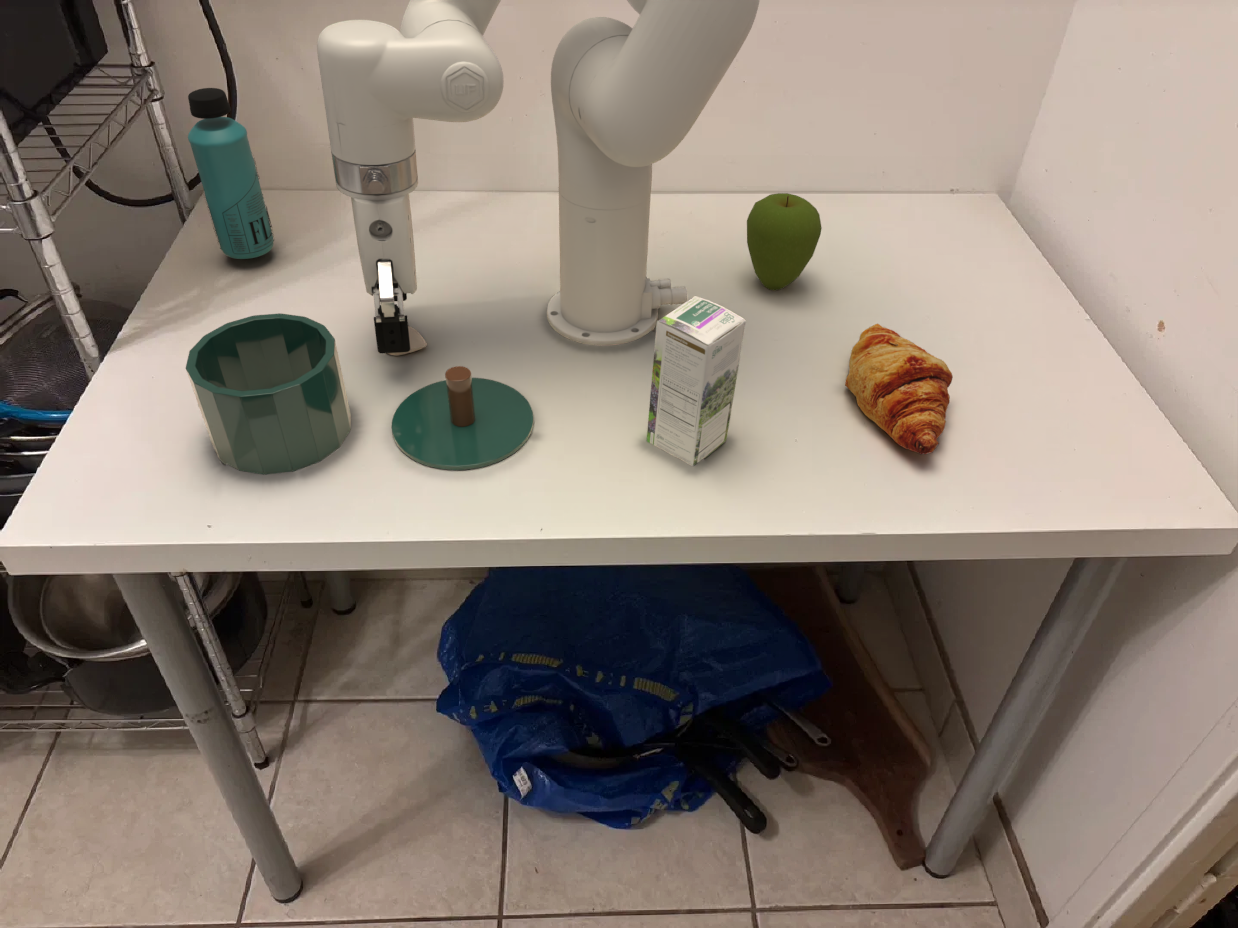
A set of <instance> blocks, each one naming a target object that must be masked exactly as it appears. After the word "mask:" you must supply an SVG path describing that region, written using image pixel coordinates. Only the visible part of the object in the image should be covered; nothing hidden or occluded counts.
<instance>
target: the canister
mask: <svg viewBox="0 0 1238 928" xmlns="http://www.w3.org/2000/svg"><path fill="white" fill-rule="evenodd" d="M341 366H342V365H341V361H340V357H339V352H338V348H337V343H336V339H335V337H334V336H333V335H332V333H331V332H330V331H329V329H328V328H327V327H326V325H324V324H322V323H320V322H318V321H315V320H314V319H311V318H309V317H307V316H304V315H303V316H302V315H295V314H287V313H282V312H281V313H268V314H256V315H250V316H247V317H243V318H240V319H236V320H233V321H229V322H227V323H224V324H222V325H221V326H219V327H217V328H215V329H213V330H212V331H210V332H208V333H206V334H204V335H203V336H202V337H201V338H200V339H199V340H198V341H197V342H196V343H195V345H193V346H192V348H190V350H189V352H188V355H187V360H186V363H185V370H186V373H187V377H188V379H189V382H190V385H191V388H192V391H193V392H194V397H195V400H196V402H197V405H198V408H199V412H200V413H201V417H202V419H203V422H204V425H205V428H206V432H207V434H208V436H209V439H210V442H211V445H212V447H213V449H214V451H215V453H216V456H217V458H218V459H219V461H220V462H221V463H222V464H223V465H224V466H225V467H226V466H227V465H228V466H230V467H232V468H233V469H235V470H237V471H240V472H244V473H250V474H251V473H252V474H257V475H263V476H265V475H274V474H284V473H293V472H296V471H298V470H301V469H304V468H307V467H309V466H313V465H315V464H318V463H319V462H321V461H323V460H324V459H326V458H327V457H329V456H330V455H331V454H333V453H334V452H335V451H336V450H338V449H340V448H341V446H342V445H343V443H344V441H345V440H346V439H347V437H348V435H349V434H350V432H351V429H352V427H351V424H352V423H351V421H352V420H351V419H352V413H351V409H350V404H349V400H348V395H347V391H346V386H345V381H344V375H343V372H342V371H343V370H342V367H341Z"/></svg>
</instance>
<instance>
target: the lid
mask: <svg viewBox="0 0 1238 928" xmlns="http://www.w3.org/2000/svg"><path fill="white" fill-rule="evenodd" d="M444 377H445V379H444V380H439V381H436V382H433V383H430V384H428V385H425V386H423V387H421V388H419V389H417V390H416V391H413V392H412V393H411V394H409V395H408V396H407V397H406V398H405V399H404V400H403V401H402V402H400V404H399V405H398V407H397V408H396V410H395V411H394V414H393V417H392V420H391V433H392V437H393V440H394V443H395V444H396V446H397V448H399V450H400V451H401V452H402V453H403V454H404V455H405V456H407V457H408V458H409V459H411V460H413V461H414V462H416V463H419V464H421V465H424V466H427V467H429V468H433V469H439V470H448V471H464V470H465V471H467V470H475V469H479V468H484V467H488V466H491V465H494V464H497V463H499V462H502V461H503V460H506V459H507V458H508V457H511V456H512V455H514V454H515V453H517V452H518V451H519V450H520V449H521V448H522V447H523V446H524V445H525V444H526V442H527V441H528V440H529V438H530V436H531V434H532V433H533V432H532V431H533V428H534V419H535V418H534V412H533V409H532V406H531V404H530V402H529V401H528V399H527V398H526V397H525V396H524V395H523V394H522V393H521V392H520V391H518V390H516V389H515V388H514V387H512V386H509V385H508V384H505V383H503V382H500V381H497V380H494V379H489V378H484V377H483V378H482V377H472V371H471V370H470V368H468V367H466V366H463V365H456V366H452V367H450V368H448V369H447V370H446V371H445V373H444Z"/></svg>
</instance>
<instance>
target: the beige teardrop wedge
mask: <svg viewBox="0 0 1238 928" xmlns="http://www.w3.org/2000/svg"><path fill="white" fill-rule="evenodd" d="M408 330H409V340H410V351H409V352H400V353H386V354H387V355H390V356H403V355H406V354H412V353H414V352H417V351H420V350H422V349H424V348H426V347H427V346H428V343H427V341H426V340H425V338H424V337H423V335H421V333H420V332H418V330H416V329H415V328H414V327H412V326H410V325H408Z"/></svg>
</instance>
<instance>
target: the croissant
mask: <svg viewBox="0 0 1238 928" xmlns="http://www.w3.org/2000/svg"><path fill="white" fill-rule="evenodd" d="M858 339H859V340H858V341H857V342H856V343H855V344H854V345H853V346H852V350H851V352H850V356H849V361H848V367H849V370H848V374H847V376H846V377H845V378H846V379H845V382H844V386H845V387H846V388H847V389H848V390H849V391H850V392H851V394H853V396H854V397H856V403H857V406H858V407H859V409H860V411H862V413H863V414H864V416H866V417H867V418H868V419H869V420H871V421H872V422H873V423H875V424H876V425H877V426H878V427H879V428H880V429H881V430H883V431H884V432H885V433H886V434H887V435H888V436H889V437H890V438H891V439H892V440H893V441H894V442H895V443H896V444H897V445H898V446H900V447H902V448H904V449H906V450H909V451H912V452H914V453H918V454H919V455H927V454H931V453H933V452H934V451H936V448H937V446H938V445H939V444H940V443H939V441H938V438H939V437H940V436H941V435H942V434H943V433H944V430H945V427H946V423H947V421H946V417H947V415H946V413H947V411H948V408H949V404H950V399H951V396H950V394H949V388H950V386H951V384H952V383H953V372H952V371H951V370H950V369H949V367H948V364H947V363H946V362H945V361H944V360H942V359H941V358H939V357H937V356H935V355H933V354H931V353H929V352H928V351H927V350H926V349H924V348H922V347H921V346H919V345H917V344H915V343H914V342H912V341H911V340H908V339H906V338H905V337H902V336H901V334H899V333H897V332H896V331H895V330H893V329H890V328H887V327H883V326H882V325H880V324H879V323H875V324H873V325H871V326H869V327H868V328H866V329H864V330H863V331H862V332H861V333H860V335H859V338H858Z"/></svg>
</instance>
